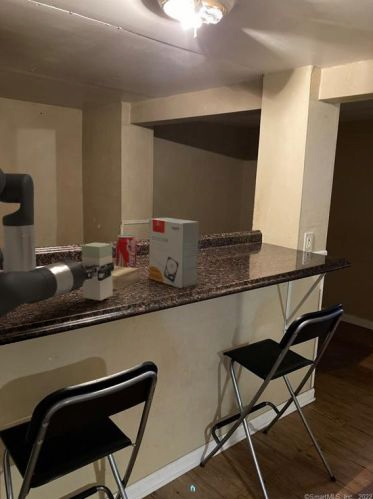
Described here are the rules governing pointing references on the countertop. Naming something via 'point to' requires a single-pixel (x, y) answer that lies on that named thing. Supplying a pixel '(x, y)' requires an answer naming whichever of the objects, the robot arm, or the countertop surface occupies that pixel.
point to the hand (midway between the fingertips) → (103, 265)
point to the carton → (100, 256)
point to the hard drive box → (173, 251)
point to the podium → (124, 276)
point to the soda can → (126, 251)
